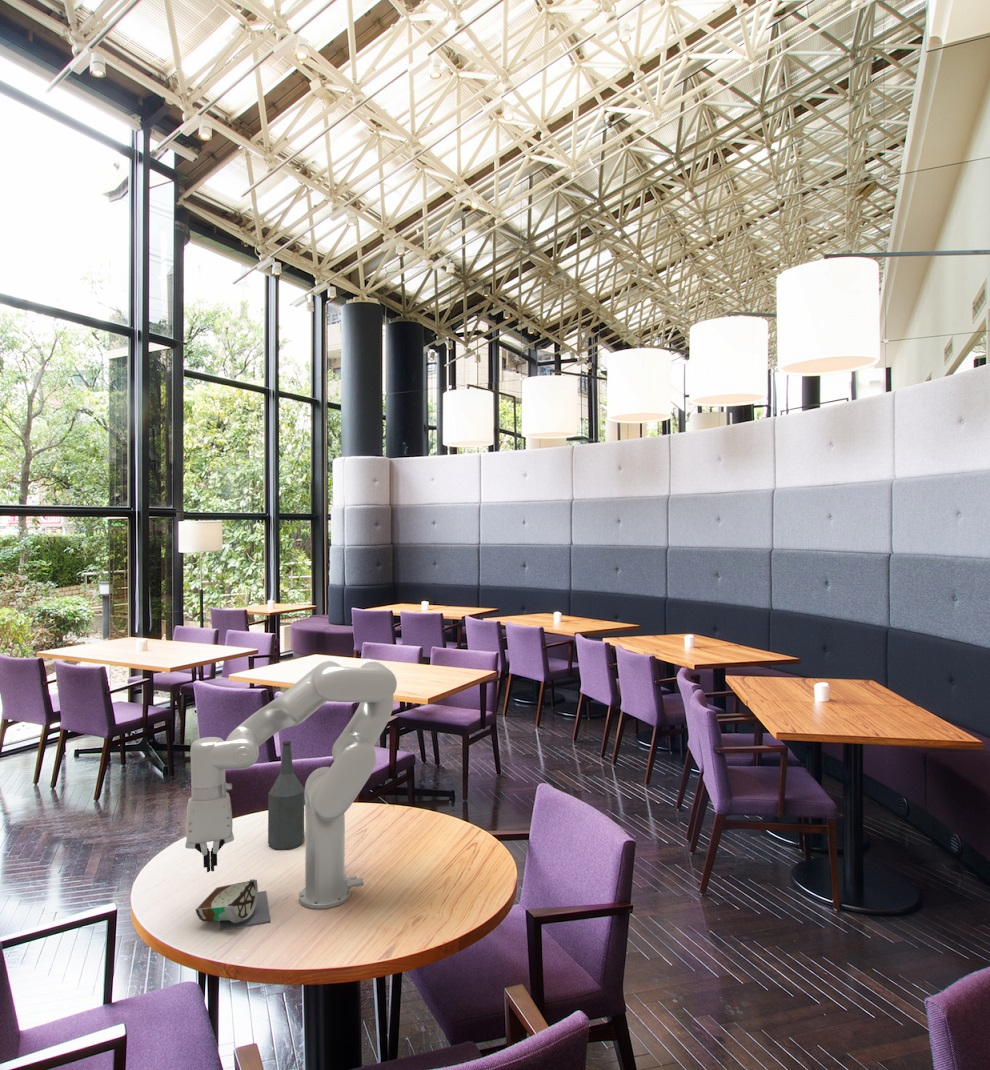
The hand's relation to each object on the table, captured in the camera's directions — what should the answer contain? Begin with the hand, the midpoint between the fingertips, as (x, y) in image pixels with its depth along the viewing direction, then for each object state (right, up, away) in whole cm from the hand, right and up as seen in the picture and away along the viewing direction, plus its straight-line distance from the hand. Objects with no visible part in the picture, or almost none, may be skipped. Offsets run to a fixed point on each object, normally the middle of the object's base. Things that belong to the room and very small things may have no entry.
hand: (210, 869), depth 173 cm
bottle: (+6, -12, +43) cm, 45 cm away
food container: (0, -9, -1) cm, 9 cm away
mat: (+7, -11, +2) cm, 13 cm away
